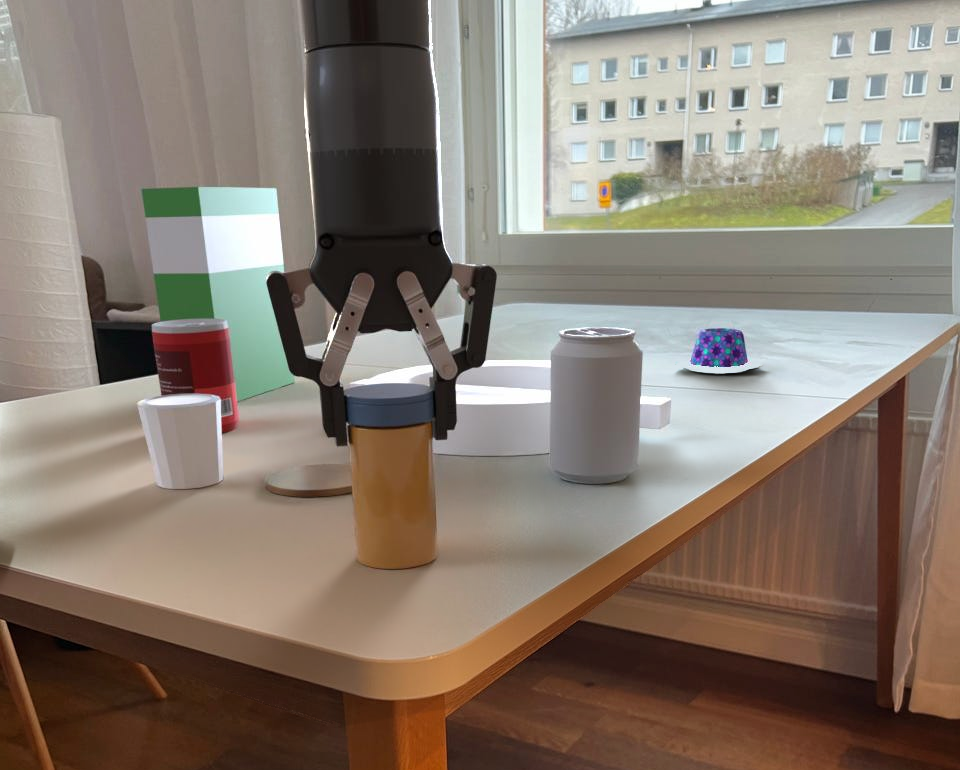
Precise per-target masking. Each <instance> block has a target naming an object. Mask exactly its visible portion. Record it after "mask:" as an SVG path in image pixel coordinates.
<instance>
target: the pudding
mask: <svg viewBox="0 0 960 770" xmlns="http://www.w3.org/2000/svg"><path fill="white" fill-rule="evenodd" d="M747 354H748V353H747V348H746V341H745V335H744V332H743V331H742V330H740V329H736V328H726V327H725V328H724V327H721V328H720V327H717V328H713V327H712V328H706V329H705V328H704V329H701V330H700V331H699V332H698V334H697V337H696V340H695V343H694V346H693V350H692V354H691V357H690V359H691V360H690V362H691V364H693V365H701V366H709V367H714V366H716V367H717V366H718V367H731V366H740V365H744V364H745V363H747V362H748V360H749V359H748V355H747Z"/></svg>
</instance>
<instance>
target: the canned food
mask: <svg viewBox="0 0 960 770" xmlns="http://www.w3.org/2000/svg"><path fill="white" fill-rule="evenodd" d="M151 335H152V342H153V349H154V351H153V352H154V356H155V357H154V358H155V363H156V368H157V369H156V370H157V375H158V376H157V377H158V383H159V389H160V396H163V395H171V394H192V393H196V394H210V395H215V396H219V397H220V399H221V427H222V434H224V433H228V432H230V431H233V430H236V429H237V427H238V426H239V422H240V415H239V414H240V413H239V406H238V402H237V396H236V387H235V379H234V370H233V361H232V352H231V343H230V336H229V328H228V325H227V321H226V320H223V319H182V320H170V321H163V322H161V321H157V322H154V323H152V324H151Z"/></svg>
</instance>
